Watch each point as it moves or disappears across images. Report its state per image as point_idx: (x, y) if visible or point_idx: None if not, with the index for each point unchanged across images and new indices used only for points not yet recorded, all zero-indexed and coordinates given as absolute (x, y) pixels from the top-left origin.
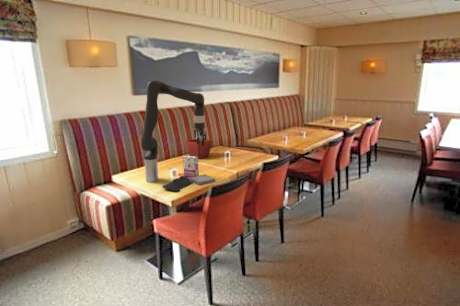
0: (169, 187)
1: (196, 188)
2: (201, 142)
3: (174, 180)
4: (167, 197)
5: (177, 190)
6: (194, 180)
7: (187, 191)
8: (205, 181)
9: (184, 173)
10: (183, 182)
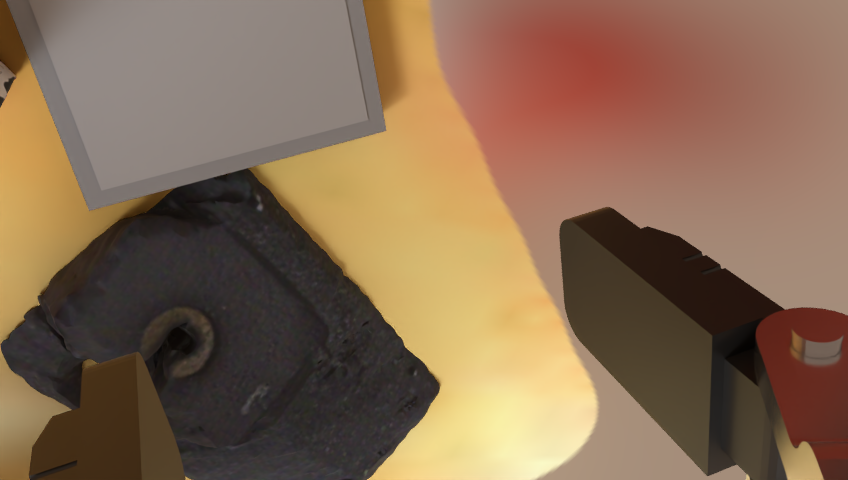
0: (375, 467)
1: (467, 173)
2: (659, 402)
3: (242, 436)
4: (544, 463)
5: (431, 379)
6: (259, 160)
7: (502, 285)
8: (361, 8)
9: None
10: (281, 316)
